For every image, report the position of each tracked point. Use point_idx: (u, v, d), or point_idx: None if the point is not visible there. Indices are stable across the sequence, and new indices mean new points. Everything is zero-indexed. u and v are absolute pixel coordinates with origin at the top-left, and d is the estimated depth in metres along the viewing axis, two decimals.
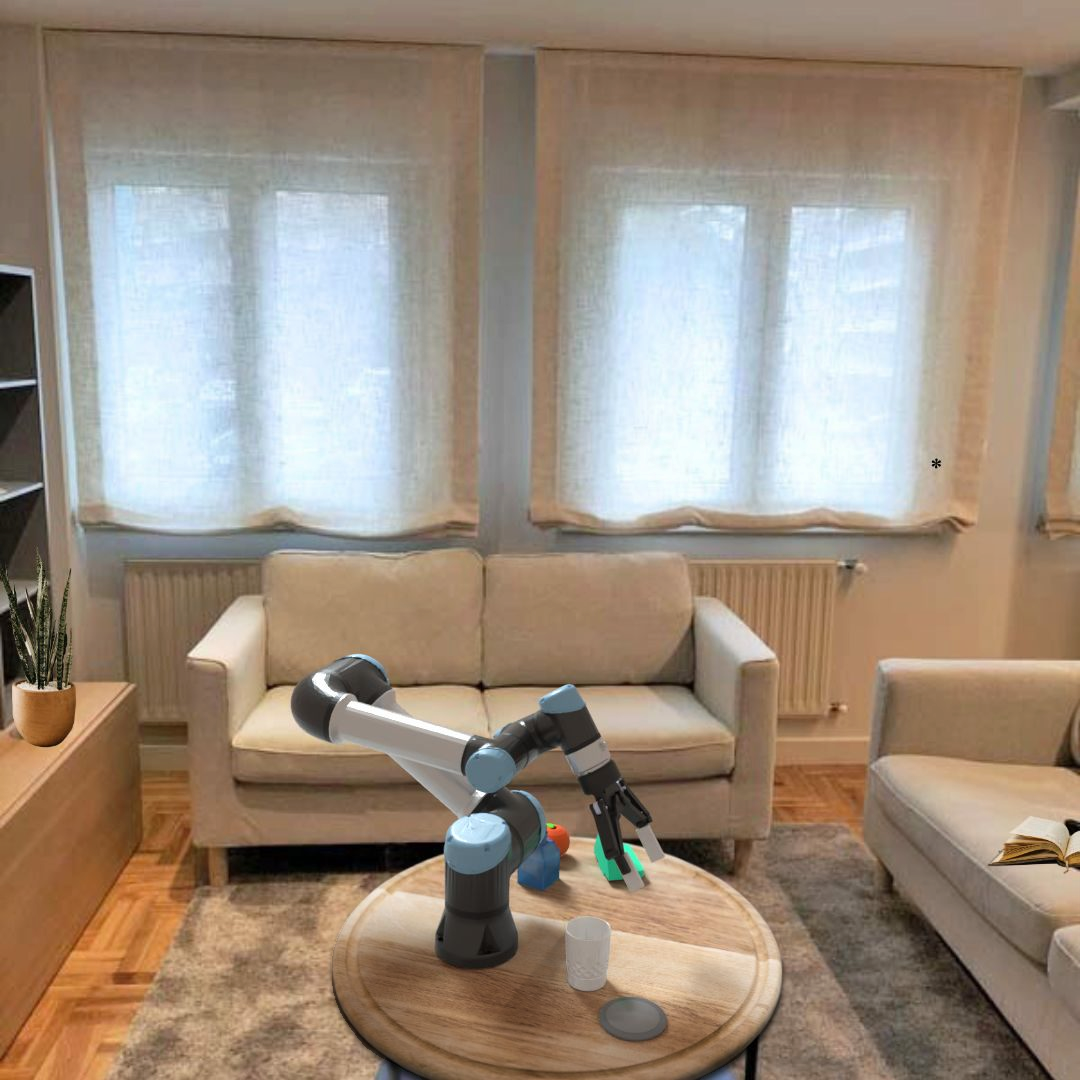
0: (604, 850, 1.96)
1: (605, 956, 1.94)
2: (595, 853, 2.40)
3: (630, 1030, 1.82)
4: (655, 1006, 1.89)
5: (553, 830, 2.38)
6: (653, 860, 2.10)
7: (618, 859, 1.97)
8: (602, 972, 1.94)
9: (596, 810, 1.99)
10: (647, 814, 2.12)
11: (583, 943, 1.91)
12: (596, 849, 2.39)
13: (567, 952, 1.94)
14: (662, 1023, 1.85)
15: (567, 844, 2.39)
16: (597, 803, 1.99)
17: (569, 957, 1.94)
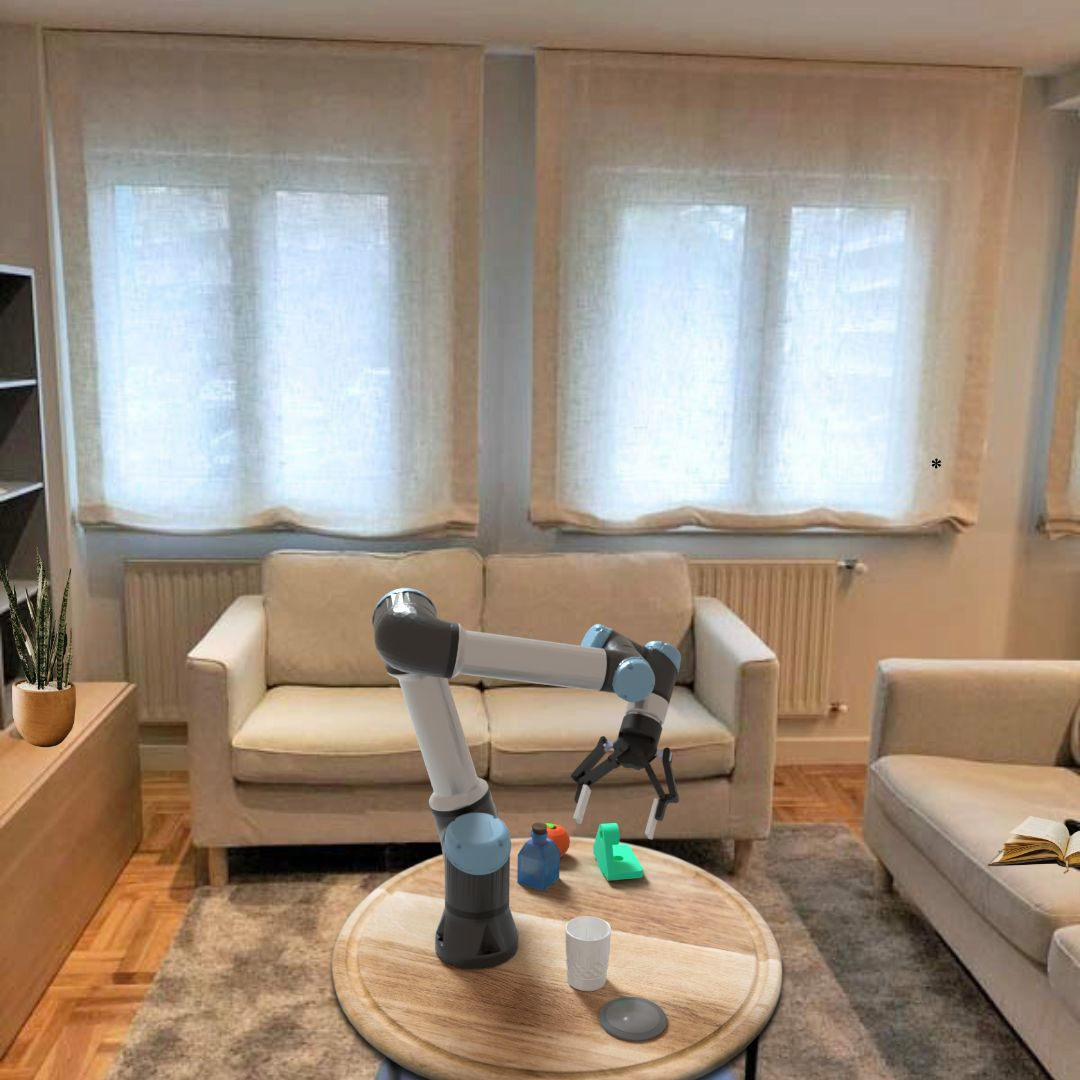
0: (675, 790, 2.01)
1: (605, 956, 1.94)
2: (594, 853, 2.40)
3: (630, 1030, 1.82)
4: (655, 1006, 1.89)
5: (553, 830, 2.38)
6: (578, 818, 2.04)
7: (665, 804, 2.01)
8: (602, 972, 1.94)
9: (670, 756, 2.06)
10: None
11: (583, 943, 1.91)
12: (595, 849, 2.39)
13: (567, 952, 1.94)
14: (662, 1023, 1.85)
15: (567, 844, 2.39)
16: None
17: (569, 957, 1.94)
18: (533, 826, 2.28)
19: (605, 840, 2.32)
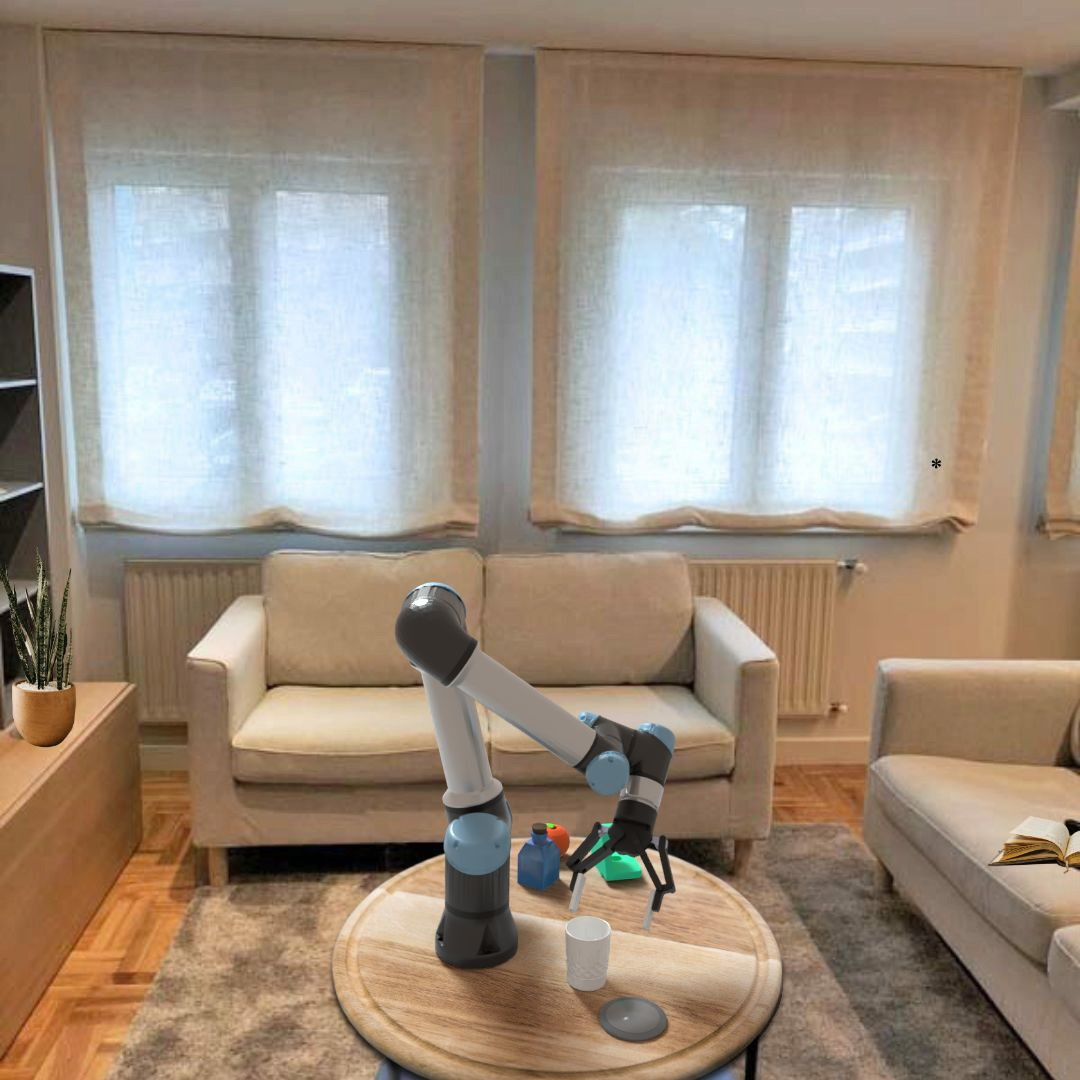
0: (672, 880, 1.99)
1: (605, 956, 1.94)
2: None
3: (630, 1030, 1.82)
4: (655, 1006, 1.89)
5: (553, 830, 2.38)
6: (573, 908, 2.01)
7: (662, 895, 1.99)
8: (602, 972, 1.94)
9: (666, 844, 2.03)
10: None
11: (583, 943, 1.91)
12: (593, 849, 2.39)
13: (567, 952, 1.94)
14: (662, 1023, 1.85)
15: (567, 844, 2.39)
16: None
17: (569, 957, 1.94)
18: (533, 826, 2.28)
19: (603, 840, 2.31)
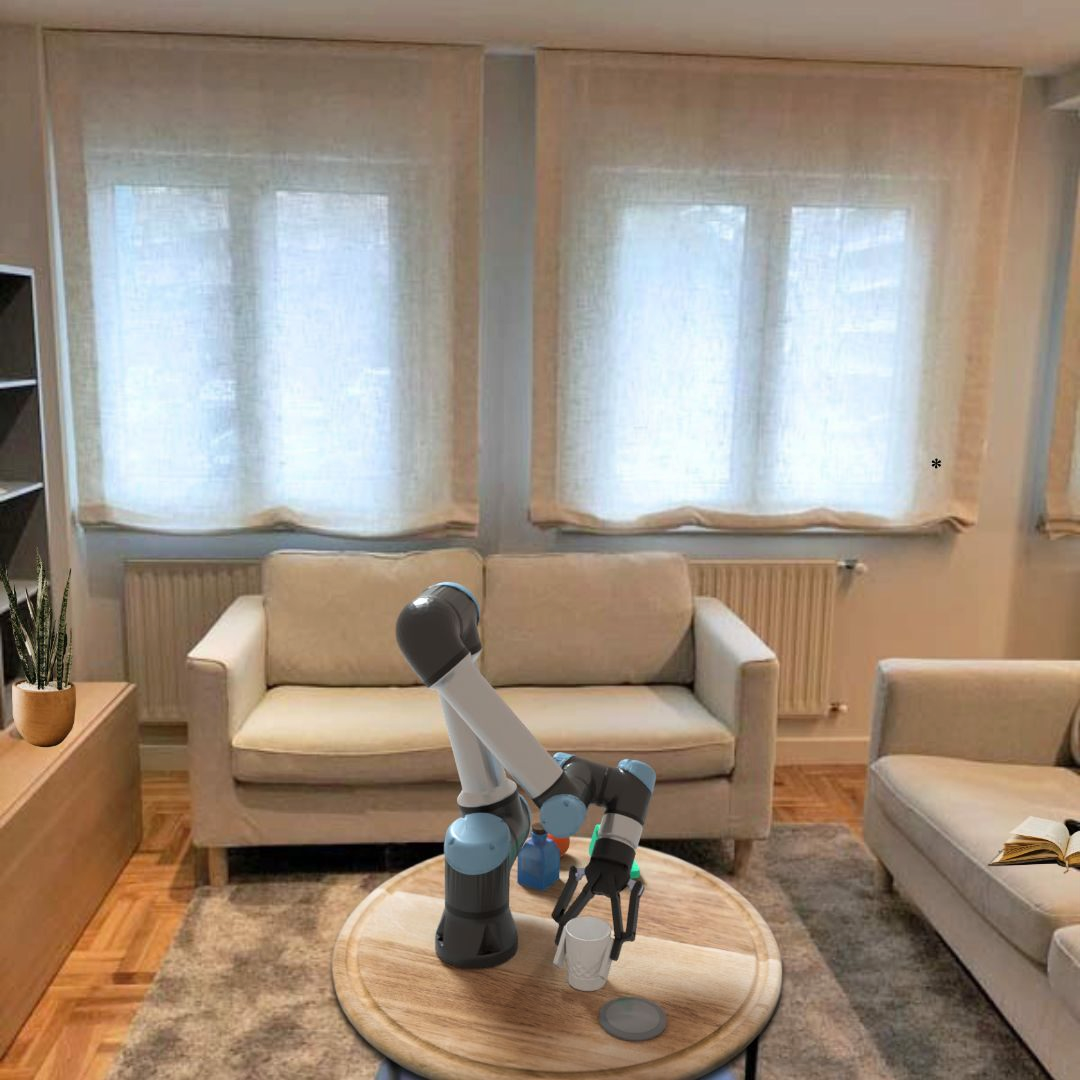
0: (633, 929, 1.94)
1: None
2: (590, 854, 2.40)
3: (630, 1030, 1.82)
4: (655, 1006, 1.89)
5: None
6: (558, 963, 1.94)
7: (621, 943, 1.94)
8: None
9: (640, 891, 1.98)
10: None
11: (583, 943, 1.91)
12: (591, 850, 2.39)
13: (567, 952, 1.94)
14: (662, 1023, 1.85)
15: (567, 844, 2.39)
16: (643, 886, 1.99)
17: (569, 957, 1.94)
18: (533, 826, 2.28)
19: None
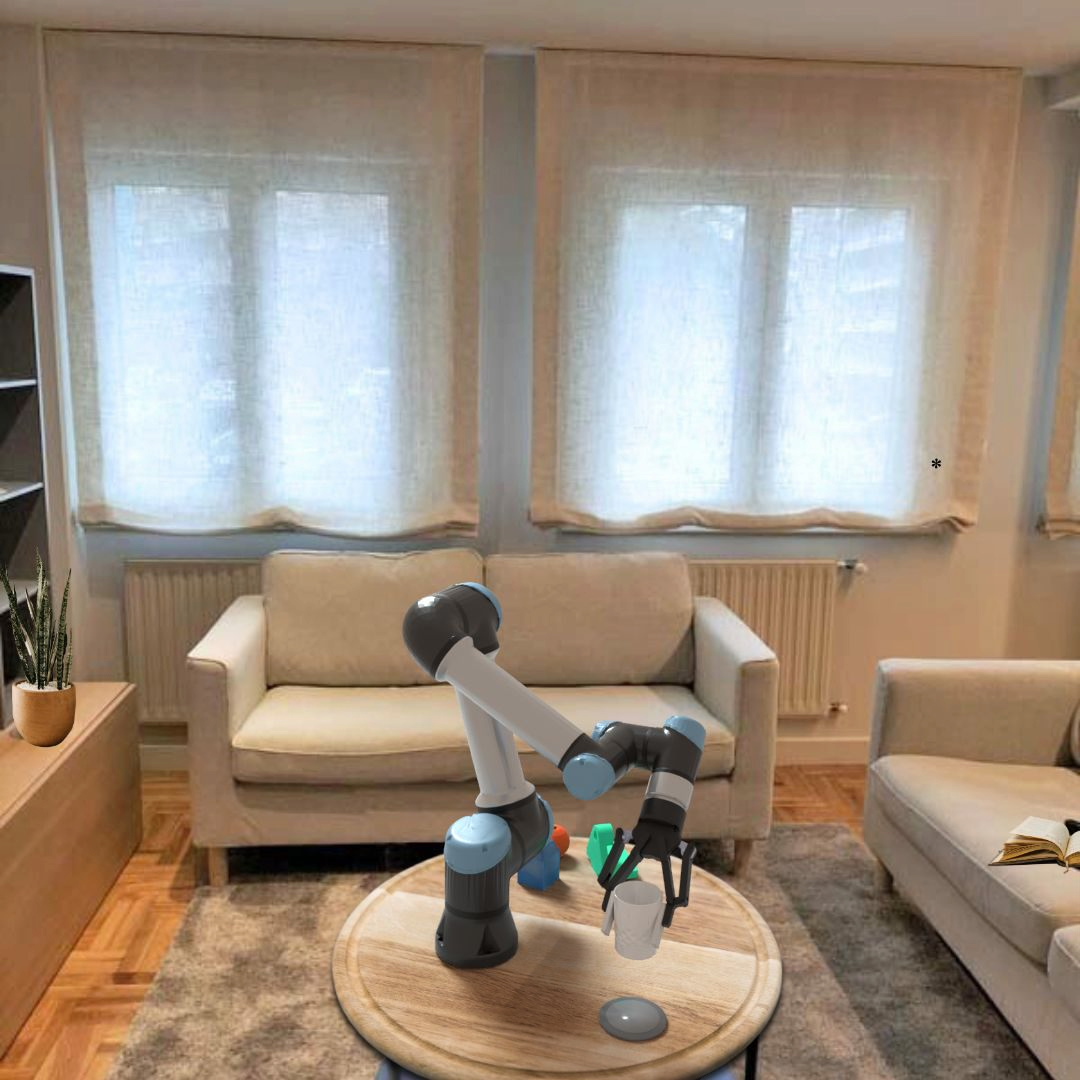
0: (686, 894, 1.81)
1: None
2: (588, 854, 2.39)
3: (630, 1030, 1.82)
4: (655, 1006, 1.89)
5: (553, 830, 2.38)
6: (606, 930, 1.81)
7: (673, 909, 1.81)
8: None
9: (693, 854, 1.85)
10: None
11: (634, 908, 1.78)
12: (589, 850, 2.38)
13: (616, 918, 1.81)
14: (662, 1023, 1.85)
15: (567, 844, 2.39)
16: (695, 848, 1.86)
17: (618, 924, 1.81)
18: None
19: (599, 841, 2.31)
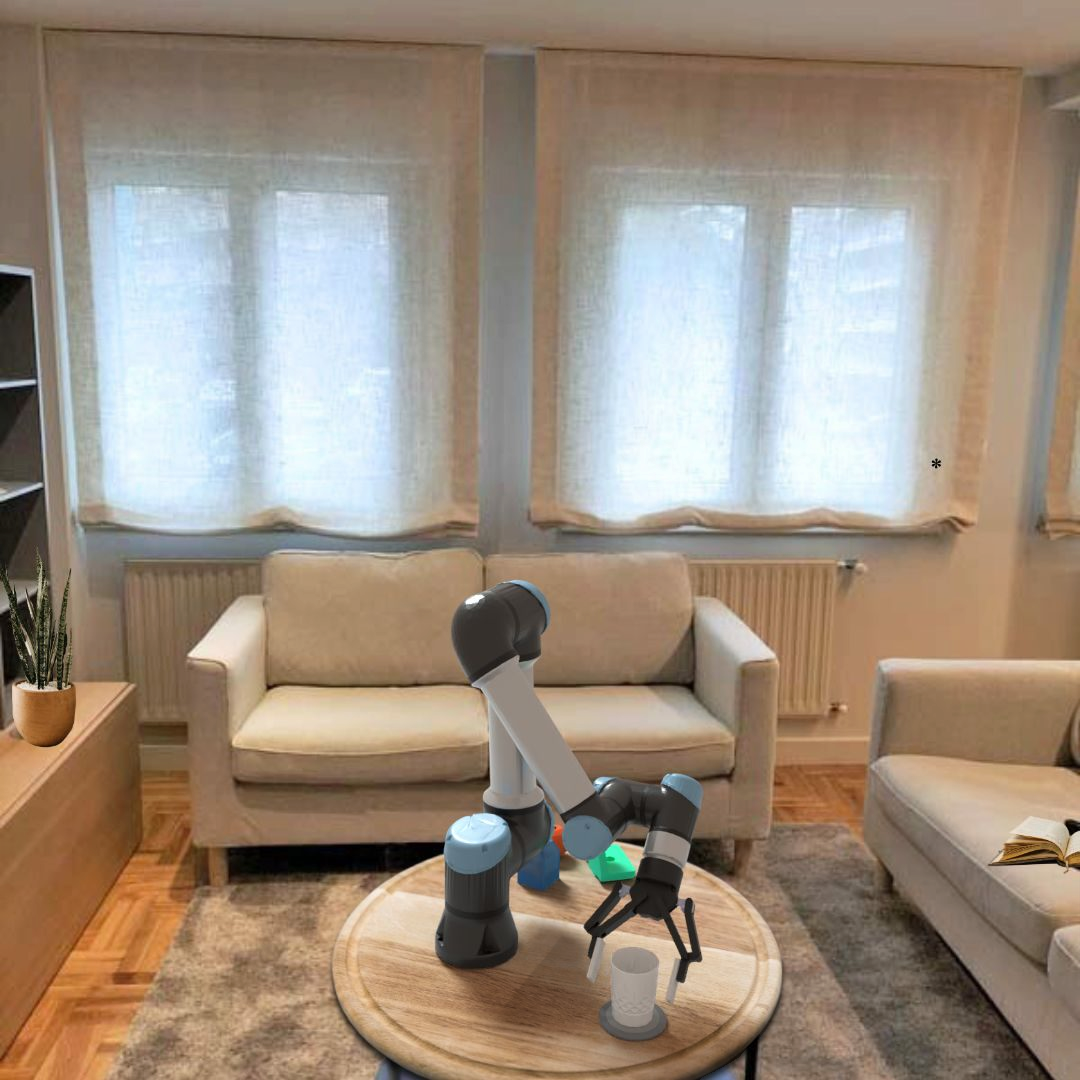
0: (698, 948, 1.83)
1: (653, 990, 1.83)
2: None
3: (630, 1030, 1.82)
4: (655, 1006, 1.89)
5: None
6: (591, 977, 1.85)
7: (688, 964, 1.83)
8: (650, 1007, 1.83)
9: (693, 907, 1.87)
10: None
11: (630, 977, 1.81)
12: None
13: (612, 986, 1.84)
14: (662, 1023, 1.85)
15: None
16: None
17: (615, 991, 1.83)
18: None
19: None
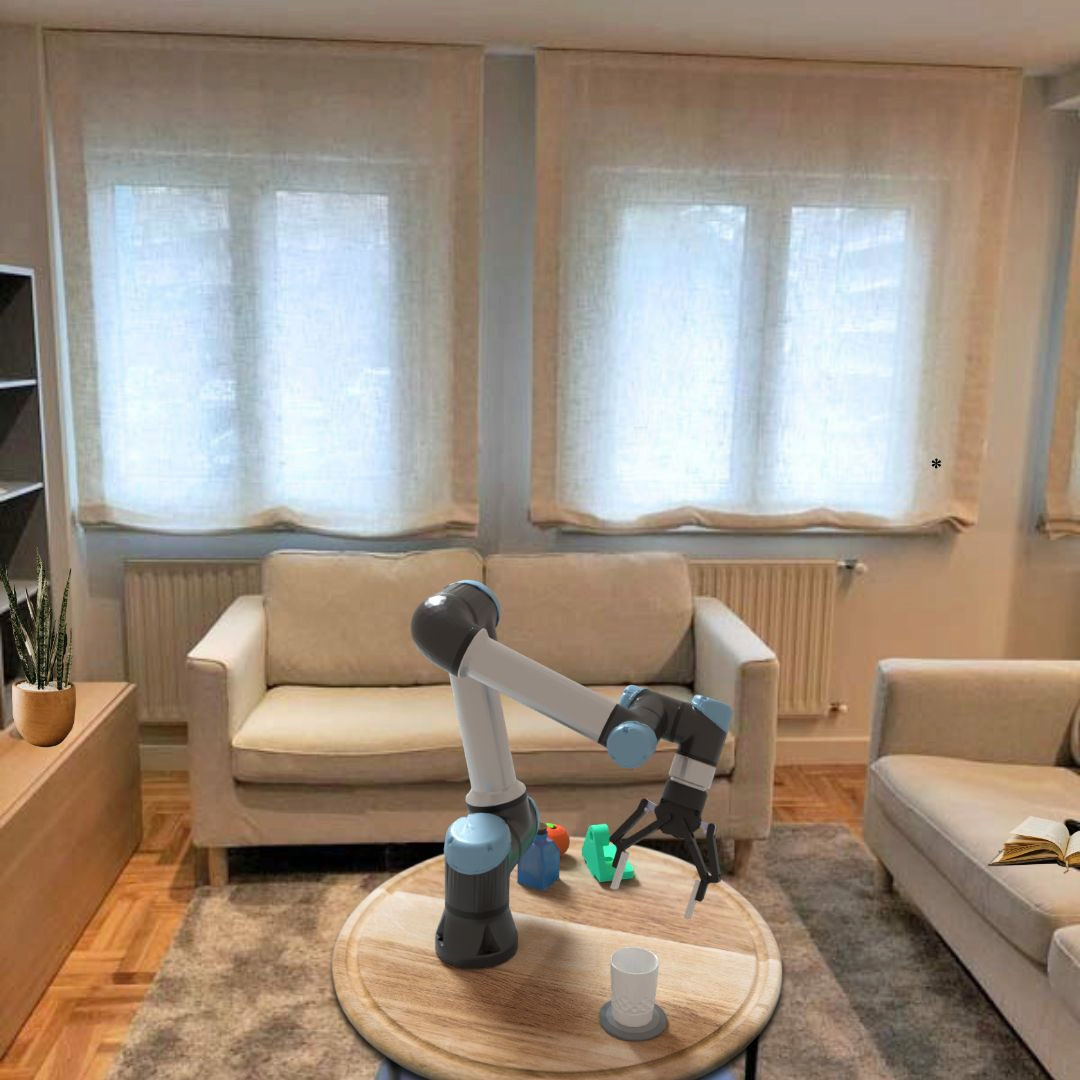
0: (718, 873, 1.93)
1: (653, 990, 1.83)
2: (583, 855, 2.39)
3: (630, 1030, 1.82)
4: (655, 1006, 1.89)
5: (553, 830, 2.38)
6: (615, 888, 1.98)
7: (707, 885, 1.94)
8: (650, 1007, 1.83)
9: (714, 831, 1.95)
10: None
11: (630, 977, 1.81)
12: (584, 851, 2.38)
13: (612, 986, 1.84)
14: (662, 1023, 1.85)
15: (567, 844, 2.39)
16: (715, 825, 1.96)
17: (615, 991, 1.83)
18: None
19: (596, 841, 2.31)
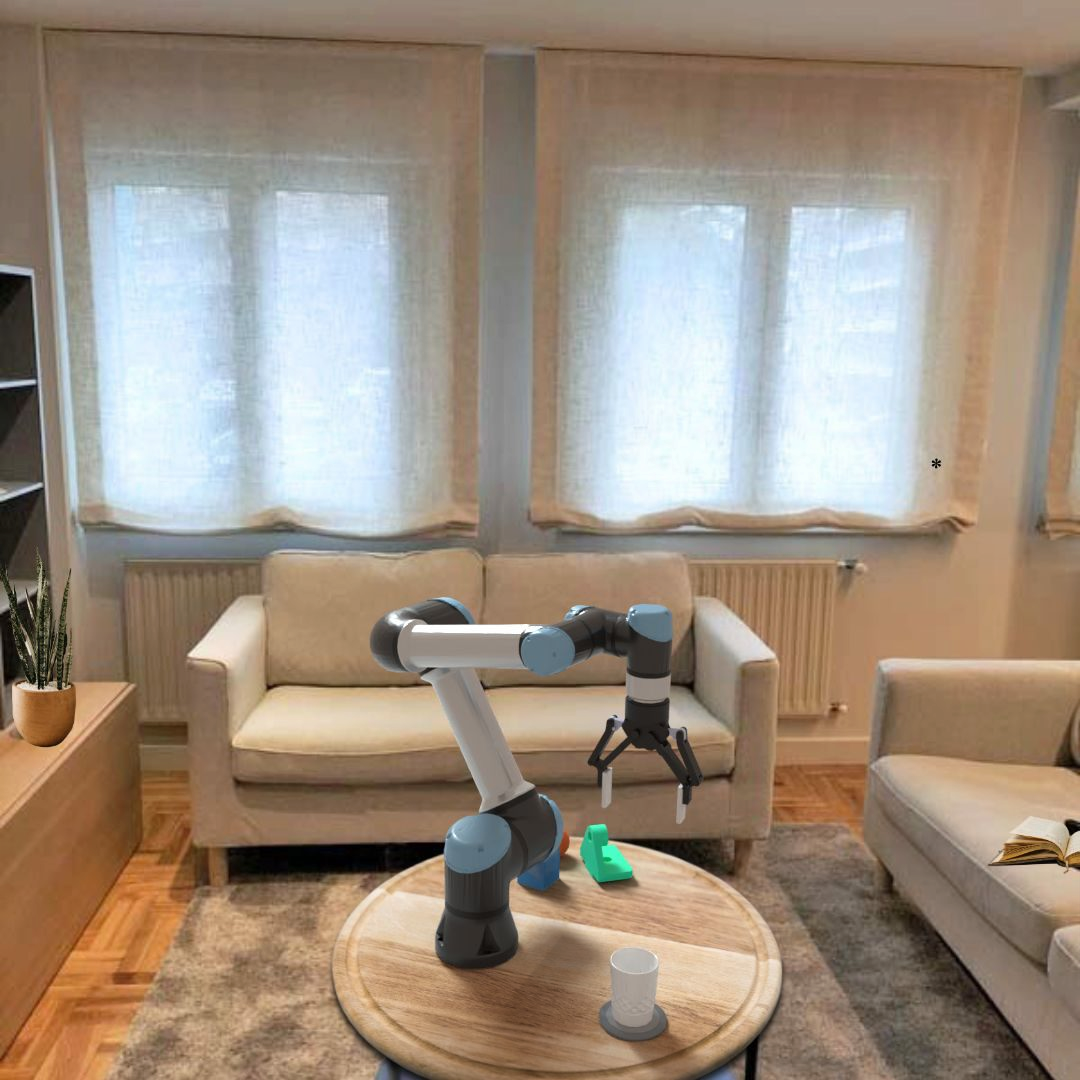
0: (697, 776, 1.90)
1: (653, 990, 1.83)
2: (581, 855, 2.39)
3: (630, 1030, 1.82)
4: (655, 1006, 1.89)
5: None
6: (606, 805, 1.99)
7: (691, 787, 1.92)
8: (650, 1007, 1.83)
9: (684, 737, 1.91)
10: None
11: (630, 977, 1.81)
12: (583, 851, 2.38)
13: (612, 986, 1.84)
14: (662, 1023, 1.85)
15: (567, 844, 2.39)
16: (684, 729, 1.91)
17: (615, 991, 1.83)
18: None
19: (594, 842, 2.31)
